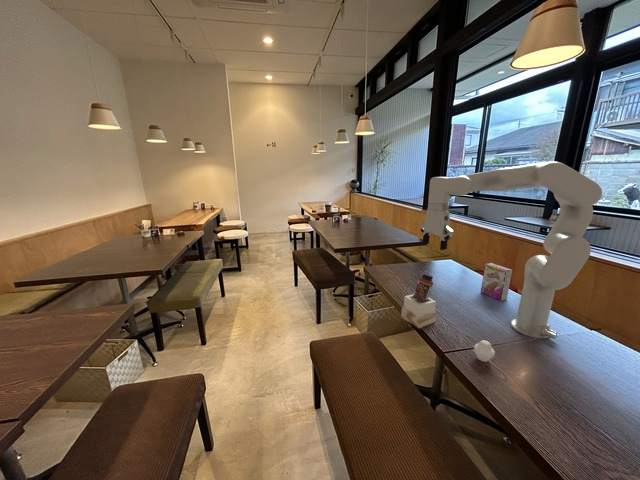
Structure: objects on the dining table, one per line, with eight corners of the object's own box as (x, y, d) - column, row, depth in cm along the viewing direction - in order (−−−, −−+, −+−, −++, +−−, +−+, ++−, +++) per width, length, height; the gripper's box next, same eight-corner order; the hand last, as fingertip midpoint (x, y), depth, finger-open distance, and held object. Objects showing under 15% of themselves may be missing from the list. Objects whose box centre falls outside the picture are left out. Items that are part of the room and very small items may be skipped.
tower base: (435, 322, 112) (436, 311, 111) (419, 329, 107) (420, 318, 106) (416, 311, 121) (417, 302, 119) (401, 317, 116) (401, 307, 115)
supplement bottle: (411, 297, 111) (419, 272, 110) (414, 295, 116) (422, 272, 115) (425, 303, 108) (434, 277, 106) (427, 301, 113) (436, 277, 111)
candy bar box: (479, 292, 138) (484, 263, 134) (486, 290, 140) (491, 262, 136) (500, 301, 128) (506, 271, 124) (507, 300, 130) (513, 269, 126)
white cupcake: (468, 355, 91) (471, 338, 90) (480, 351, 94) (483, 334, 92) (484, 367, 86) (487, 349, 84) (497, 362, 88) (501, 344, 86)
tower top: (434, 312, 110) (435, 301, 109) (417, 316, 107) (418, 305, 106) (419, 303, 118) (420, 292, 117) (403, 306, 115) (404, 296, 114)
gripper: (462, 208, 101) (457, 250, 105) (428, 204, 117) (425, 241, 121) (448, 210, 98) (443, 253, 102) (415, 205, 114) (413, 243, 118)
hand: (434, 246), depth 112 cm, fingers open, 9 cm apart
